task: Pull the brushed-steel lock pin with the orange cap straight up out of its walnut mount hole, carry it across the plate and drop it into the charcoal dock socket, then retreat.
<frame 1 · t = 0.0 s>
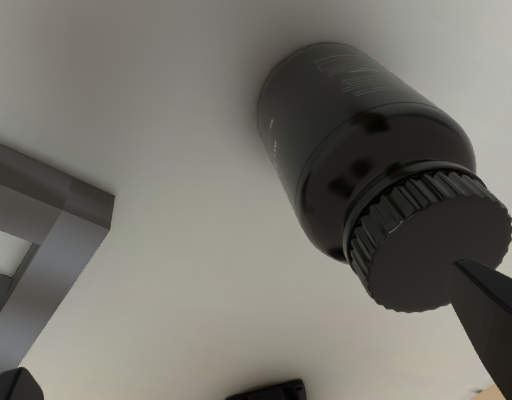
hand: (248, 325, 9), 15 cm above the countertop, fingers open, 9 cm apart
supplement bottle: (318, 106, 23), on the countertop
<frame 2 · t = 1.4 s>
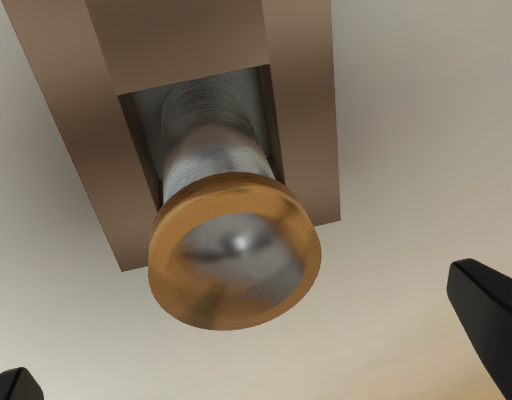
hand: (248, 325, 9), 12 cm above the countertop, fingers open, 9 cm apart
lock pin: (203, 116, 19), resting in pin dock plate
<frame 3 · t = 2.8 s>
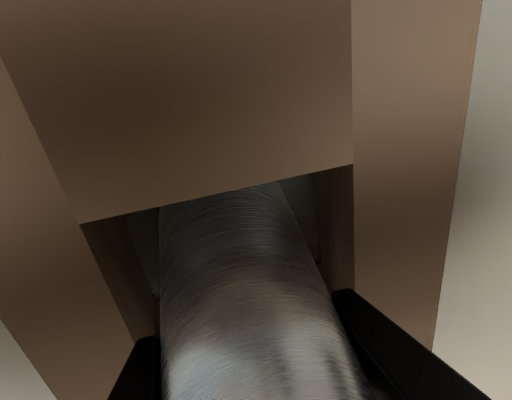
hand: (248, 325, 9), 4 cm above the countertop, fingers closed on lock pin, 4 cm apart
lock pin: (223, 215, 13), resting in pin dock plate, touching gripper
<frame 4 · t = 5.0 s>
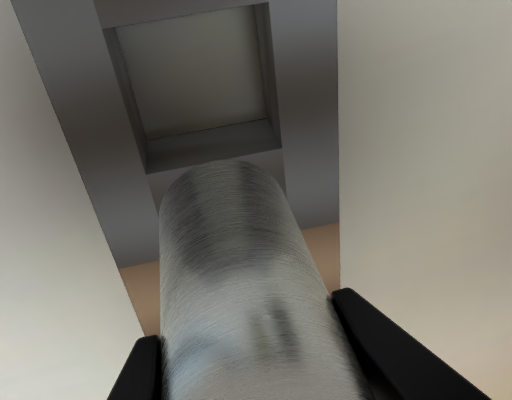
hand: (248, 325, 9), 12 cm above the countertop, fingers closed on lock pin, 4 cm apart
pin dock plate: (222, 207, 22), on the countertop
lock pin: (224, 215, 13), point 8 cm above the countertop, touching gripper
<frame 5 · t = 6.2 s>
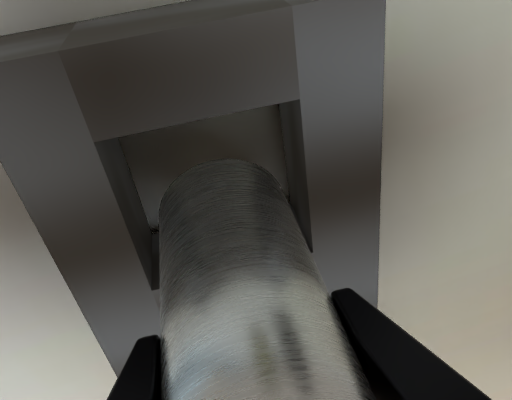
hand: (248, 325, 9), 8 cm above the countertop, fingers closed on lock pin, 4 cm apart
pin dock plate: (239, 295, 19), on the countertop
lock pin: (224, 215, 13), point 4 cm above the countertop, touching gripper
when the fingers open (5 cm above the countertop, at t = 7.1 s): lock pin stays where it is, resting in pin dock plate.
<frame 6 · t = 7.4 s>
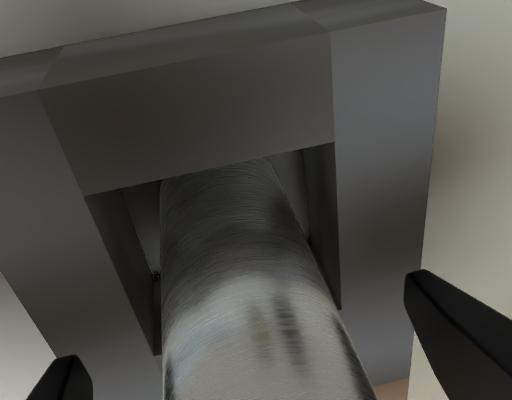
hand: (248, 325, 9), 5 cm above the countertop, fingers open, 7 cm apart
pin dock plate: (251, 342, 17), on the countertop
lock pin: (220, 196, 13), resting in pin dock plate
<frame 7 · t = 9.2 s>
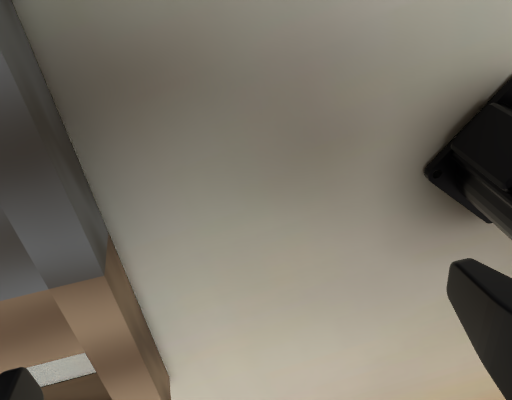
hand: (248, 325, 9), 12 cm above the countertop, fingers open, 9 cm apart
pin dock plate: (0, 257, 21), on the countertop
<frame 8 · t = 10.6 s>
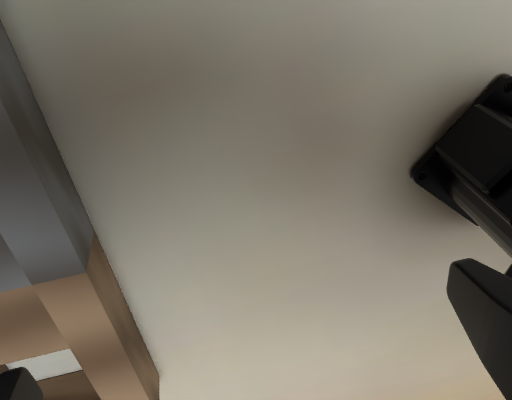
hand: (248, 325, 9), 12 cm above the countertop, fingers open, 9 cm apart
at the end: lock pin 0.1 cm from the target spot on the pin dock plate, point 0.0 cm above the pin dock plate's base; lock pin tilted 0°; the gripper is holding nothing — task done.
